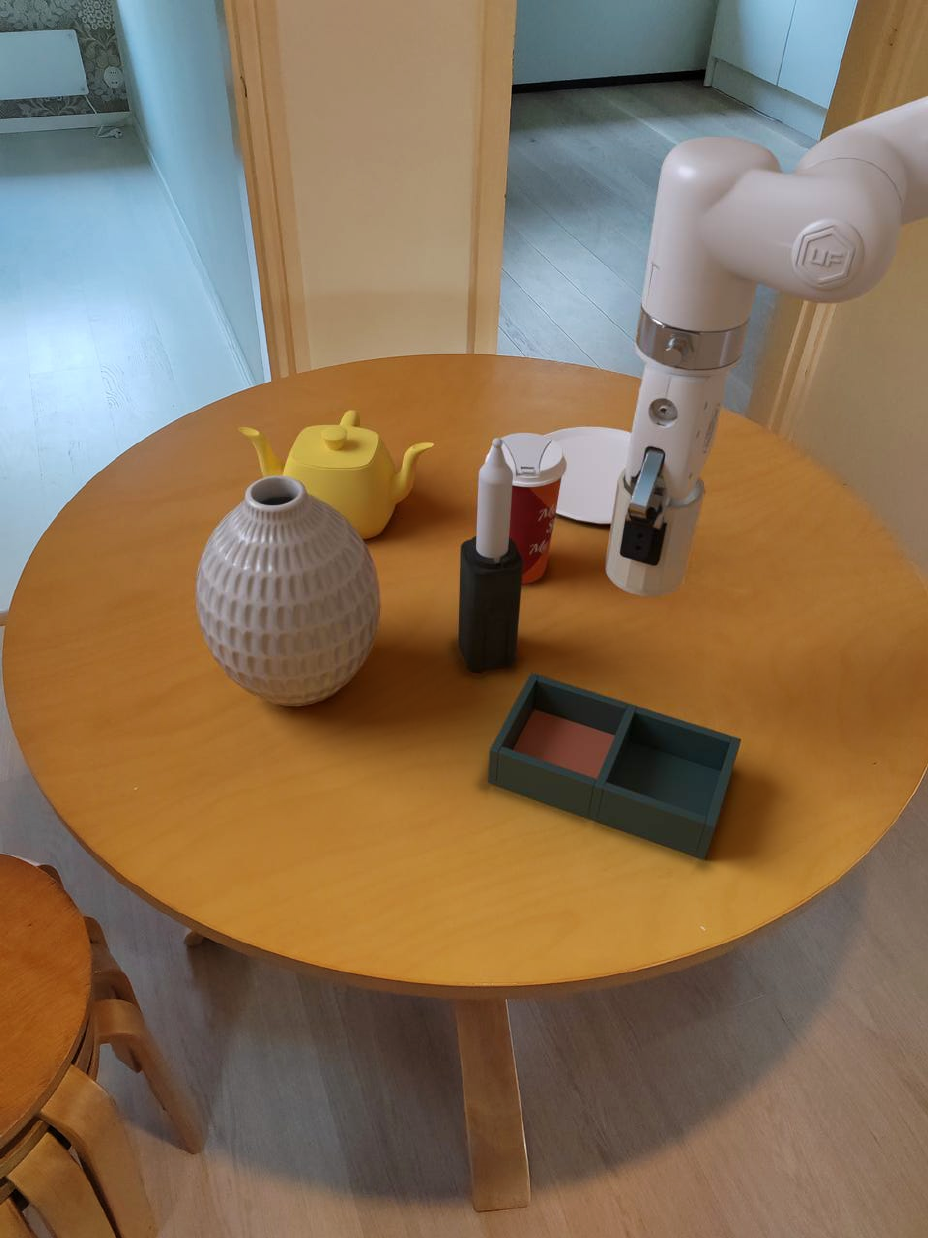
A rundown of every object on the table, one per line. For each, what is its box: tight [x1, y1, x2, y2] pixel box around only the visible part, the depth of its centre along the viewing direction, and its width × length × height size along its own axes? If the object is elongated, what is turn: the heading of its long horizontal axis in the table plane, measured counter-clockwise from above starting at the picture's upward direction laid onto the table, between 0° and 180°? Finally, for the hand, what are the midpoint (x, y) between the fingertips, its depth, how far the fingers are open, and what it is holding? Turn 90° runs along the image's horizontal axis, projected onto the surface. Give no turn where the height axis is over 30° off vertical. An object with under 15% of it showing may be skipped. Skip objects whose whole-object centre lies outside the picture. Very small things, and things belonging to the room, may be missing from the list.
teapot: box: [237, 409, 435, 540], centre depth 113 cm, size 22×16×11 cm
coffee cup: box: [484, 432, 567, 585], centre depth 104 cm, size 8×8×15 cm
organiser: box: [487, 672, 742, 861], centre depth 86 cm, size 19×10×5 cm, turn 67°
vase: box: [194, 476, 382, 707], centre depth 88 cm, size 16×16×22 cm
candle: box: [457, 437, 523, 674], centre depth 90 cm, size 5×5×25 cm
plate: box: [542, 426, 632, 526], centre depth 121 cm, size 21×21×1 cm
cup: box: [605, 468, 706, 598], centre depth 81 cm, size 7×7×9 cm
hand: (653, 531), depth 81 cm, fingers closed on cup, 6 cm apart
